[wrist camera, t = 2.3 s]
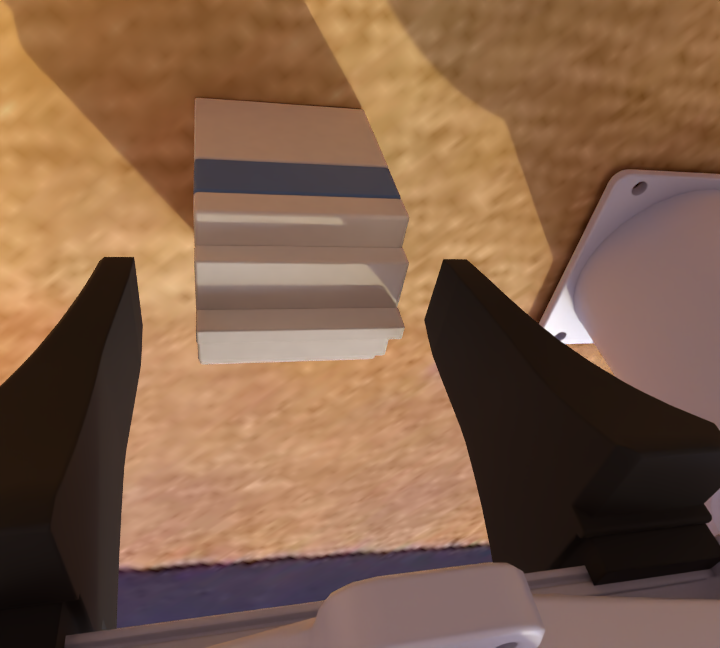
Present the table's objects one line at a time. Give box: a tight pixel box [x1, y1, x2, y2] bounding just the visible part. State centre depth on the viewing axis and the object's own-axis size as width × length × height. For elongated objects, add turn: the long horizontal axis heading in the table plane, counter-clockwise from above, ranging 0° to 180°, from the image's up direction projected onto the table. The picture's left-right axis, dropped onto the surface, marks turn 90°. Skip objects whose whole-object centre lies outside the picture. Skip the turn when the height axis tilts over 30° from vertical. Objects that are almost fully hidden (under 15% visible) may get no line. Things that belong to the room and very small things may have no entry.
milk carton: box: [193, 98, 409, 364], centre depth 16 cm, size 5×5×7 cm
